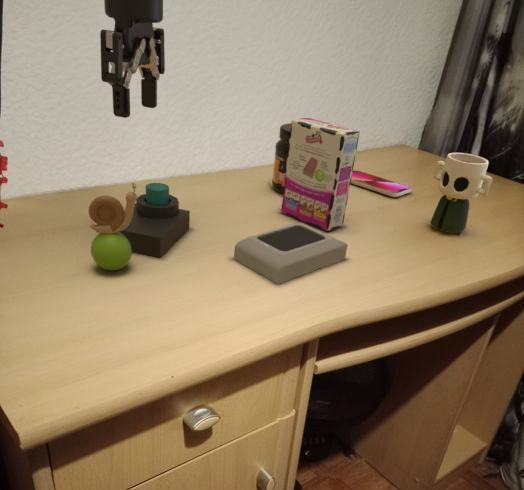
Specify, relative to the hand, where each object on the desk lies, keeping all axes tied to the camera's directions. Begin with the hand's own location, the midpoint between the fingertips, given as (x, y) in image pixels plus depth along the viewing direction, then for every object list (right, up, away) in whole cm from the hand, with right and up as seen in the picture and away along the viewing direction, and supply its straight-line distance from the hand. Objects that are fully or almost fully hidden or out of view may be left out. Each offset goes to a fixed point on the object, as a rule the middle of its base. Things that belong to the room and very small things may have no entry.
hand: (136, 111), depth 78 cm
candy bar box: (+27, -11, +20) cm, 36 cm away
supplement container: (+25, -2, +33) cm, 42 cm away
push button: (+2, -11, +7) cm, 14 cm away
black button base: (0, -17, +7) cm, 18 cm away
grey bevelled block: (+23, -21, +6) cm, 31 cm away
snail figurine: (-2, -23, -2) cm, 23 cm away
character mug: (+53, -12, +23) cm, 59 cm away
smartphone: (+43, +1, +40) cm, 59 cm away
